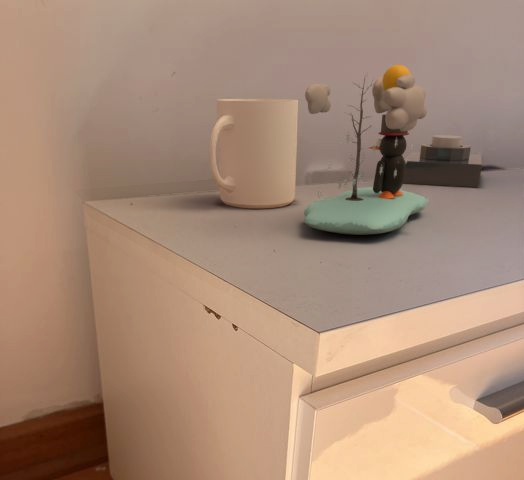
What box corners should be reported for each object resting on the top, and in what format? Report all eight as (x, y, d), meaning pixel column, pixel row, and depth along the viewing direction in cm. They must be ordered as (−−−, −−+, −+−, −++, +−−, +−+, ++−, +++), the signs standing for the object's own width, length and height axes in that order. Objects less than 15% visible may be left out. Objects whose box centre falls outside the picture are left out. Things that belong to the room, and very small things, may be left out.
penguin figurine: (355, 201, 72) (366, 67, 65) (440, 211, 67) (461, 67, 60) (278, 233, 56) (282, 61, 50) (381, 249, 51) (400, 60, 45)
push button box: (478, 175, 94) (483, 143, 92) (478, 187, 83) (484, 151, 81) (410, 171, 97) (413, 140, 95) (401, 183, 86) (405, 148, 84)
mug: (307, 199, 73) (311, 100, 68) (261, 216, 63) (262, 102, 58) (244, 192, 77) (243, 98, 72) (192, 207, 68) (187, 100, 63)
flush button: (460, 147, 89) (462, 135, 88) (460, 150, 85) (461, 138, 85) (431, 146, 90) (433, 134, 90) (429, 149, 87) (431, 137, 86)
